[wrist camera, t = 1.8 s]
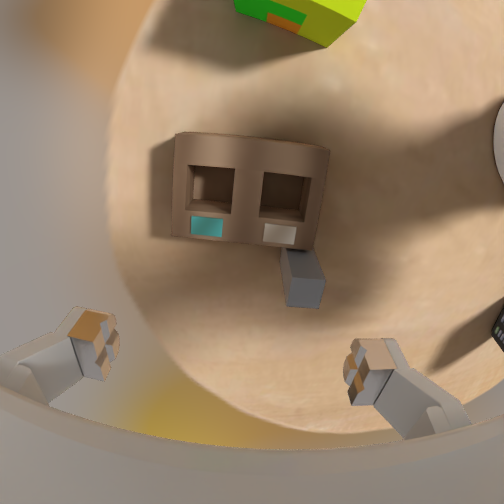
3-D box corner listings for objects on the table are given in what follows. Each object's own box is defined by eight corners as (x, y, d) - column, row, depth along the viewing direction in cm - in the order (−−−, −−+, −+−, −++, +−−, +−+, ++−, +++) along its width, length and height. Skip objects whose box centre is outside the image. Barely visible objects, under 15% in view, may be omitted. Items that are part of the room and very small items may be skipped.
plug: (309, 240, 34) (325, 280, 26) (305, 263, 36) (318, 308, 27) (283, 237, 34) (292, 277, 26) (279, 261, 35) (286, 306, 27)
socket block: (321, 146, 30) (330, 150, 26) (306, 235, 34) (312, 251, 30) (185, 131, 29) (174, 134, 26) (180, 222, 34) (171, 236, 30)
